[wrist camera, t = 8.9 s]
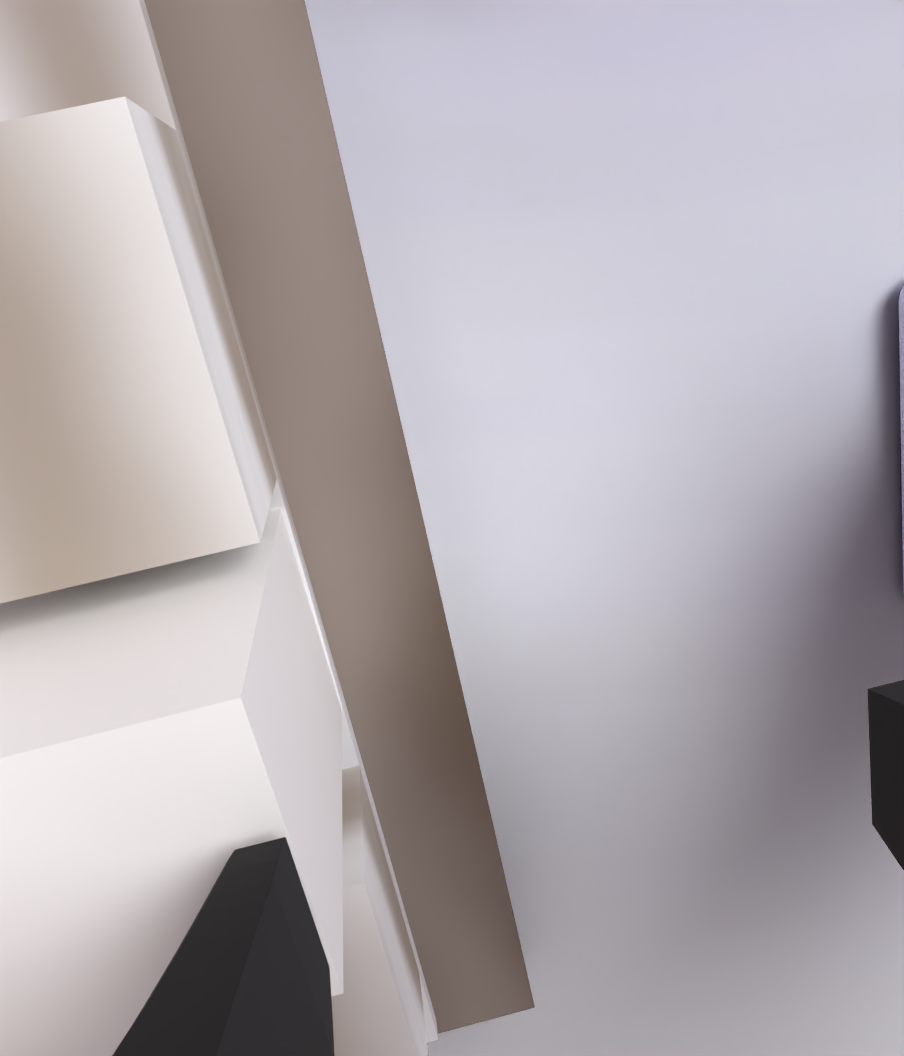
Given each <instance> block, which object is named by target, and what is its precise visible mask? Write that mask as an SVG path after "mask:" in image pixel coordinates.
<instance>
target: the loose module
mask: <svg viewBox="0 0 904 1056" xmlns="http://www.w3.org/2000/svg"><path fill="white" fill-rule="evenodd" d="M283 837H286V839H287V842H288V845H289V848H290V851H291V854H292V857H293V860H294V863H295V866H296V869H297V872H298V875H299V878H300V881H301V884H302V887H303V890H304V893H305V896H306V899H307V902H308V904H309V907H310V910H311V913H312V916H313V919H314V922H315V925H316V928H317V931H318V934H319V937H320V940H321V943H322V946H323V949H324V952H325V955H326V958H327V961H328V964H329V967H330V983H331V997H332V996H335V995H339V994H343V846H342V708H341V705H340V701H339V698H338V695H337V691H336V688H335V685H334V681H333V678H332V675H331V671H330V668H329V665H328V661H327V658H326V655H325V651H324V648H323V645H322V641H321V638H320V635H319V631H318V628H317V625H316V621H315V618H314V615H313V612H312V608H311V605H310V602H309V598H308V595H307V592H306V588H305V585H304V582H303V578H302V575H301V572H300V568H299V565H298V562H297V558H296V555H295V552H294V548H293V545H292V542H291V538H290V535H289V532H288V528H287V525H286V522H285V518H284V515H283V512H282V508H281V507H280V508H276V509H272V510H269V511H268V515H267V519H266V523H265V526H264V530H263V534H262V538H261V542H260V543H256V544H252V545H247V546H243V547H239V548H235V549H230V550H226V551H222V552H218V553H213V554H209V555H205V556H201V557H196V558H192V559H188V560H184V561H179V562H175V563H171V564H166V565H162V566H158V567H154V568H149V569H145V570H141V571H137V572H132V573H128V574H124V575H120V576H115V577H111V578H107V579H103V580H98V581H94V582H90V583H86V584H81V585H77V586H73V587H69V588H64V589H60V590H56V591H51V592H47V593H43V594H39V595H34V596H30V597H26V598H22V599H17V600H13V601H9V602H5V603H0V1056H112V1055H113V1053H114V1052H115V1050H116V1049H117V1047H118V1046H119V1044H120V1043H121V1041H122V1040H123V1038H124V1037H125V1035H126V1034H127V1032H128V1031H129V1029H130V1028H131V1026H132V1024H133V1023H134V1021H135V1020H136V1018H137V1016H138V1015H139V1013H140V1011H141V1010H142V1008H143V1007H144V1005H145V1003H146V1001H147V1000H148V998H149V996H150V995H151V993H152V991H153V990H154V988H155V986H156V985H157V983H158V981H159V980H160V978H161V976H162V975H163V973H164V971H165V970H166V968H167V966H168V965H169V963H170V961H171V960H172V958H173V956H174V955H175V953H176V951H177V950H178V948H179V946H180V944H181V942H182V941H183V939H184V937H185V935H186V934H187V932H188V930H189V928H190V927H191V925H192V923H193V921H194V920H195V918H196V916H197V914H198V912H199V911H200V909H201V907H202V905H203V904H204V902H205V900H206V898H207V896H208V895H209V893H210V891H211V889H212V887H213V886H214V884H215V882H216V880H217V878H218V877H219V875H220V873H221V871H222V869H223V868H224V866H225V864H226V862H227V861H228V859H229V858H230V856H231V855H232V853H233V852H234V850H236V849H240V848H244V847H247V846H251V845H255V844H259V843H263V842H267V841H271V840H275V839H279V838H283Z"/></svg>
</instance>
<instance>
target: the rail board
mask: <svg viewBox="0 0 904 1056" xmlns="http://www.w3.org/2000/svg"><path fill="white" fill-rule="evenodd" d="M280 507H281V508H282V512H283V515H284V518H285V522H286V525H287V528H288V532H289V535H290V538H291V542H292V545H293V548H294V552H295V555H296V558H297V562H298V565H299V568H300V572H301V575H302V578H303V582H304V585H305V588H306V592H307V595H308V598H309V602H310V605H311V608H312V612H313V615H314V618H315V621H316V625H317V628H318V631H319V635H320V638H321V641H322V645H323V648H324V651H325V655H326V658H327V661H328V665H329V668H330V671H331V675H332V678H333V681H334V685H335V688H336V691H337V695H338V698H339V701H340V705H341V708H342V846H343V994H339V995H335V996H332V997H331V999H332V1014H333V1035H334V1055H335V1056H428V1048H427V1043H429V1042H433V1041H437V1040H439V1039H438V1033H441V1032H445V1031H449V1030H452V1029H456V1028H460V1027H464V1026H467V1025H471V1024H475V1023H478V1022H482V1021H486V1020H490V1019H493V1018H497V1017H501V1016H505V1015H508V1014H512V1013H516V1012H519V1011H523V1010H527V1009H531V1008H534V1002H533V998H532V993H531V989H530V985H529V980H528V976H527V972H526V967H525V963H524V958H523V954H522V950H521V945H520V941H519V937H518V932H517V928H516V923H515V919H514V915H513V910H512V906H511V902H510V897H509V893H508V889H507V884H506V880H505V875H504V871H503V867H502V862H501V858H500V854H499V849H498V845H497V840H496V836H495V832H494V827H493V823H492V819H491V814H490V810H489V805H488V801H487V797H486V792H485V788H484V784H483V779H482V775H481V770H480V766H479V762H478V757H477V753H476V749H475V744H474V740H473V736H472V731H471V727H470V722H469V718H468V714H467V709H466V705H465V701H464V696H463V692H462V687H461V683H460V679H459V674H458V670H457V666H456V661H455V657H454V652H453V648H452V644H451V639H450V635H449V631H448V626H447V622H446V617H445V613H444V609H443V604H442V600H441V596H440V591H439V587H438V583H437V578H436V574H435V569H434V565H433V561H432V556H431V552H430V548H429V543H428V539H427V534H426V530H425V526H424V521H423V517H422V513H421V508H420V504H419V499H418V495H417V491H416V486H415V482H414V478H413V473H412V469H411V465H410V460H409V456H408V451H407V447H406V443H405V438H404V434H403V430H402V425H401V421H400V416H399V412H398V408H397V403H396V399H395V395H394V390H393V386H392V381H391V377H390V373H389V368H388V364H387V360H386V355H385V351H384V346H383V342H382V338H381V333H380V329H379V325H378V320H377V316H376V312H375V307H374V303H373V298H372V294H371V290H370V285H369V281H368V277H367V272H366V268H365V263H364V259H363V255H362V250H361V246H360V242H359V237H358V233H357V228H356V224H355V220H354V215H353V211H352V207H351V202H350V198H349V193H348V189H347V185H346V180H345V176H344V172H343V167H342V163H341V159H340V154H339V150H338V145H337V141H336V137H335V132H334V128H333V124H332V119H331V115H330V110H329V106H328V102H327V97H326V93H325V89H324V84H323V80H322V75H321V71H320V67H319V62H318V58H317V54H316V49H315V45H314V40H313V36H312V32H311V27H310V23H309V19H308V14H307V10H306V6H305V1H304V0H0V603H5V602H9V601H13V600H17V599H22V598H26V597H30V596H34V595H39V594H43V593H47V592H51V591H56V590H60V589H64V588H69V587H73V586H77V585H81V584H86V583H90V582H94V581H98V580H103V579H107V578H111V577H115V576H120V575H124V574H128V573H132V572H137V571H141V570H145V569H149V568H154V567H158V566H162V565H166V564H171V563H175V562H179V561H184V560H188V559H192V558H196V557H201V556H205V555H209V554H213V553H218V552H222V551H226V550H230V549H235V548H239V547H243V546H247V545H252V544H256V543H260V542H261V538H262V534H263V530H264V526H265V523H266V519H267V515H268V511H269V510H272V509H276V508H280Z"/></svg>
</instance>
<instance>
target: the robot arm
mask: <svg viewBox="0 0 904 1056" xmlns="http://www.w3.org/2000/svg"><path fill="white" fill-rule="evenodd" d="M899 349H900V410H901V472H902V533H903V593H904V286H903V288H902V290H901V292H900V297H899ZM868 710H869V740H870V769H871V798H872V824H873V826H874V827H875V829H876V830H877V832H878V833H879V835H880V836H881V838H882V839H883V841H884V842H885V844H886V845H887V847H888V848H889V850H890V851H891V852H892V854H893V855H894V857H895V858H896V860H897V861H898V863H899V864H900V866H901V867H902V869H903V870H904V680H902V681H898V682H894V683H890V684H886V685H882V686H878V687H874V688H870V689H868ZM112 1056H335V1055H334V1035H333V1014H332V999H331V983H330V967H329V964H328V961H327V958H326V955H325V952H324V949H323V946H322V943H321V940H320V937H319V934H318V931H317V928H316V925H315V922H314V919H313V916H312V913H311V910H310V907H309V904H308V902H307V899H306V896H305V893H304V890H303V887H302V884H301V881H300V878H299V875H298V872H297V869H296V866H295V863H294V860H293V857H292V854H291V851H290V848H289V845H288V842H287V839H286V837H283V838H279V839H275V840H271V841H267V842H263V843H259V844H255V845H251V846H247V847H244V848H240V849H236V850H234V852H233V853H232V855H231V856H230V858H229V859H228V861H227V862H226V864H225V866H224V868H223V869H222V871H221V873H220V875H219V877H218V878H217V880H216V882H215V884H214V886H213V887H212V889H211V891H210V893H209V895H208V896H207V898H206V900H205V902H204V904H203V905H202V907H201V909H200V911H199V912H198V914H197V916H196V918H195V920H194V921H193V923H192V925H191V927H190V928H189V930H188V932H187V934H186V935H185V937H184V939H183V941H182V942H181V944H180V946H179V948H178V950H177V951H176V953H175V955H174V956H173V958H172V960H171V961H170V963H169V965H168V966H167V968H166V970H165V971H164V973H163V975H162V976H161V978H160V980H159V981H158V983H157V985H156V986H155V988H154V990H153V991H152V993H151V995H150V996H149V998H148V1000H147V1001H146V1003H145V1005H144V1007H143V1008H142V1010H141V1011H140V1013H139V1015H138V1016H137V1018H136V1020H135V1021H134V1023H133V1024H132V1026H131V1028H130V1029H129V1031H128V1032H127V1034H126V1035H125V1037H124V1038H123V1040H122V1041H121V1043H120V1044H119V1046H118V1047H117V1049H116V1050H115V1052H114V1053H113V1055H112Z"/></svg>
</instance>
